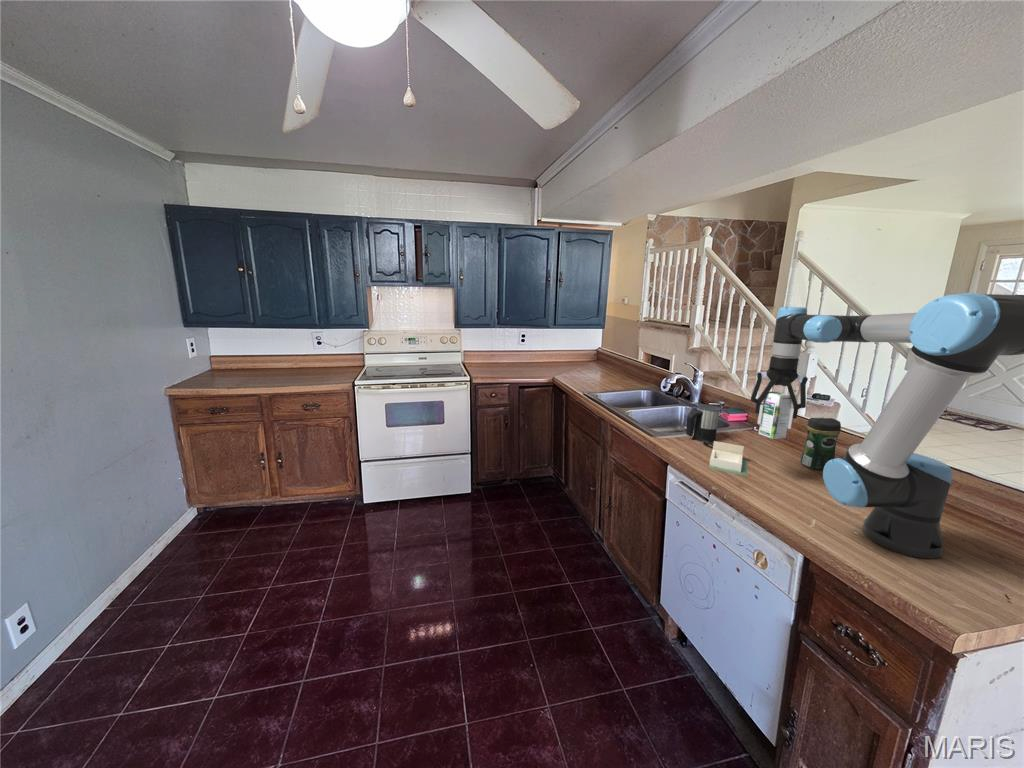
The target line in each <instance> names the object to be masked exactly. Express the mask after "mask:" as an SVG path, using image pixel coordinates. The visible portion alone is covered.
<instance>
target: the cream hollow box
mask: <svg viewBox="0 0 1024 768" xmlns="http://www.w3.org/2000/svg"><path fill="white" fill-rule="evenodd" d="M744 448H745V446H743V445H740V444H733V443H727V442H721V441H717V440H716V441H714V444H713V446H712V451H711V454H710V457H709V458H710V459H709V465H708V467H709V466H711V467H716V468H721V469H726V470H731V471H736V472H741V467H742V459H743V455H744Z"/></svg>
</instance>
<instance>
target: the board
mask: <svg viewBox="0 0 1024 768" xmlns="http://www.w3.org/2000/svg"><path fill="white" fill-rule="evenodd" d="M748 464H749V462H748V459H743V458H742V467H741V472H736V471H731V470H726V469H721V468H716V467H711V466H709V465H708V469H711V470H716V471H721V472H724V473H725V472H726V473H730V474H735V475H740V476H745V477H747V476H748Z"/></svg>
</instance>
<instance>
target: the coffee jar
mask: <svg viewBox="0 0 1024 768" xmlns="http://www.w3.org/2000/svg"><path fill="white" fill-rule="evenodd" d="M841 427H842V424H841V421H840V420H837V419H836V418H832V417H810V418H809V419H808V421H807V424H806V429H807V437H806V441H805V445H804V448H803V451H802V454H801V458H800V463H801V464H802V466H803V467H806V468H810V469H811V470H818V471H823V469H824V466H825V464H826V463H827V462H828V461H829V460H832V459H835V458H836V448H837V447H836V446H837V440H838V437H839V435H840V434H841V430H842V429H841Z"/></svg>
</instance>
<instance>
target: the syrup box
mask: <svg viewBox="0 0 1024 768" xmlns="http://www.w3.org/2000/svg"><path fill="white" fill-rule="evenodd" d="M762 402H763V403H762V404H763V410H762V416H761V423H760V424H759V429H758V435H761V436H763V437H765V438H769V439H771V440H777V439H778V440H779V439H785V438H787V431H788V421H789V415H790V409H791V407H792V405H793V403H792V400H791V397H790V394H789V393H788V394H787V393H783V392H779V391H769V393H768V394H767V395H766V397H765V398H764V400H763V401H762Z"/></svg>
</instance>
